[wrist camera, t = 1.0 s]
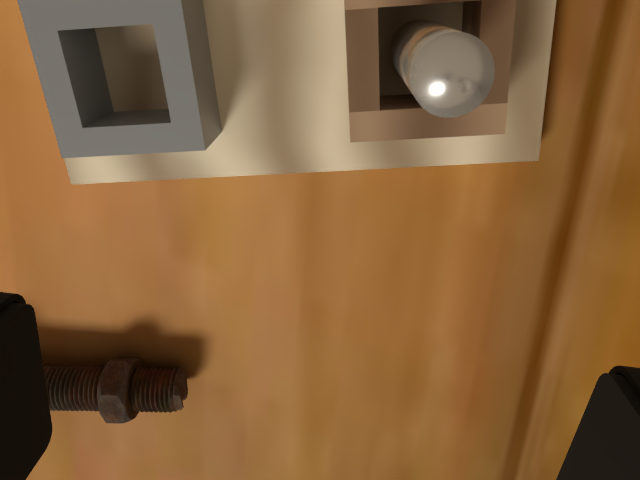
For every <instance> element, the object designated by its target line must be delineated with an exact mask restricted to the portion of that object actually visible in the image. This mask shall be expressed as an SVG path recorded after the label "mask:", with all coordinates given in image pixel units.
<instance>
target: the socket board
mask: <svg viewBox="0 0 640 480" xmlns="http://www.w3.org/2000/svg"><path fill="white" fill-rule="evenodd" d="M203 6H204V13H205V19H206V26H207V33H208V40H209V47H210V54H211V60H212V67H213V74H214V81H215V88H216V94H217V101H218V108H219V115H220V122H221V129H222V133H221V134H220V135H219V136H218V137H217V138H216V139H215V140H214V141H213V143H212V144H211V145H210V146H209V147H208V148H207V149H206V150H205V151H187V152H169V153H151V154H132V155H114V156H96V157H78V158H64V160H65V163H66V167H67V171H68V174H69V178H70V181H71V184H91V183H110V182H130V181H149V180H169V179H188V178H208V177H227V176H247V175H266V174H286V173H305V172H325V171H344V170H364V169H383V168H403V167H422V166H442V165H461V164H481V163H500V162H520V161H538V160H539V151H540V143H541V134H542V125H543V116H544V107H545V98H546V89H547V80H548V71H549V62H550V53H551V44H552V36H553V27H554V18H555V9H556V0H203ZM418 19H422V20H427V21H430V22H434V23H437V24H440V25H443V26H446V27H449V28H452V29H456V30H459V31H462V32H465V33H468V34H471V35H473V36H475V37H477V38H479V39H480V40H481V41H482V42H483V43H484V44H485V45H486V46H487V47H488V49H489V51H490V52H491V55H492V57H493V61H494V67H495V74H494V81H493V84H492V87H491V90H490V92H489V93H488V95H487V97H486V98H485V99H484V101H483V102H482V103H481V104H480V105H479V106H478V107H477V108H475V109H474V110H472V111H471V112H469V113H467V114H465V115H462V116H459V117H453V118H444V117H439V116H435V115H433V114H431V113H429V112H427V111H426V110H425V109H424V108H422V107H421V105H420V104H419V103H418V102H417V100H416V99H415V97H414V96H413V94H412V93H411V91H410V90H409V88H408V87H407V85H406V84H405V82H404V81H403V80H402V78H401V77H400V75H399V74H398V72H397V71H396V69H395V68H394V66H393V64H392V62H391V59H390V52H389V51H390V43H391V40H392V38H393V36H394V34H395V33H396V31H397V30H398V29H399V28H400V27H401V26H402V25H404V24H405V23H407V22H409V21H412V20H418ZM95 32H96V36H97V41H98V45H99V49H100V54H101V58H102V62H103V67H104V71H105V75H106V80H107V84H108V88H109V93H110V97H111V101H112V106H113V110H114V112H123V111H140V110H156V109H169V108H168V103H167V98H166V92H165V87H164V81H163V76H162V71H161V65H160V60H159V55H158V49H157V44H156V39H155V33H154V28H153V24H143V25H130V26H116V27H102V28H95Z"/></svg>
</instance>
